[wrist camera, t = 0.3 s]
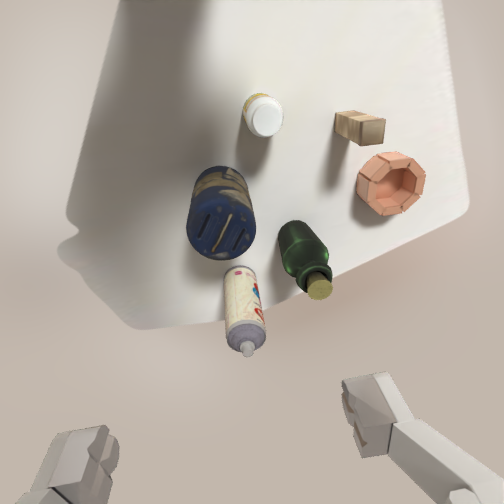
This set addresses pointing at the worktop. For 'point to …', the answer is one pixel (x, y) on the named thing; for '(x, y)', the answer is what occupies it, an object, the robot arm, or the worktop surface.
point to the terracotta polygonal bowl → (390, 183)
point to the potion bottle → (306, 259)
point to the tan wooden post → (360, 127)
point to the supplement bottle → (263, 115)
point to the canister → (221, 215)
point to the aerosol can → (243, 311)
